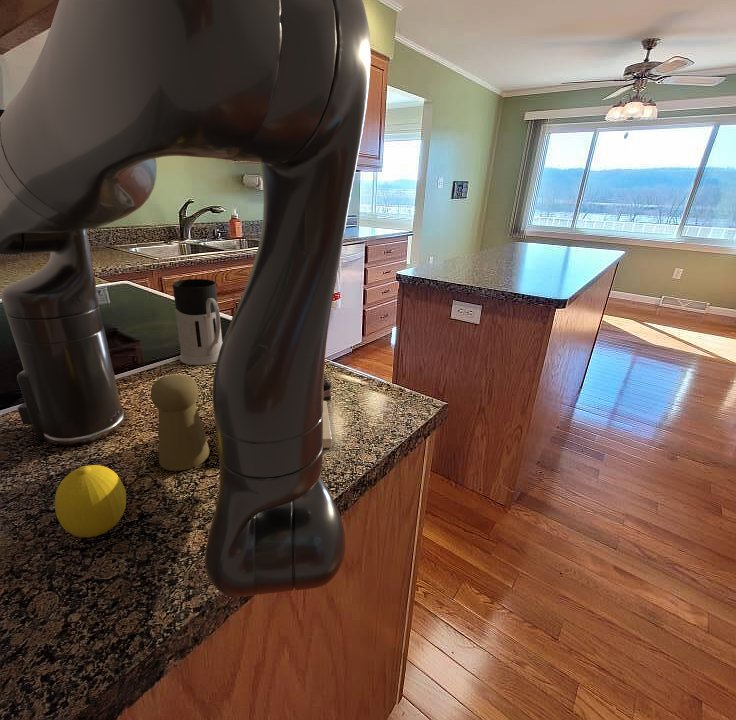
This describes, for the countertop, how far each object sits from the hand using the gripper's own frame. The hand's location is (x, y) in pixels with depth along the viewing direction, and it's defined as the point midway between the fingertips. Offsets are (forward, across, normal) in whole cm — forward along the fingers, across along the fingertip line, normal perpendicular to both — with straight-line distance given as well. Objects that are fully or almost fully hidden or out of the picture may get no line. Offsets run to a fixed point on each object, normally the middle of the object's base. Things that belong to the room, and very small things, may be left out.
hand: (287, 366), depth 62 cm
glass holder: (+19, +16, +7) cm, 26 cm away
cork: (-12, +13, +7) cm, 19 cm away
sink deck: (0, 0, +7) cm, 7 cm away
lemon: (-24, +18, +7) cm, 31 cm away
